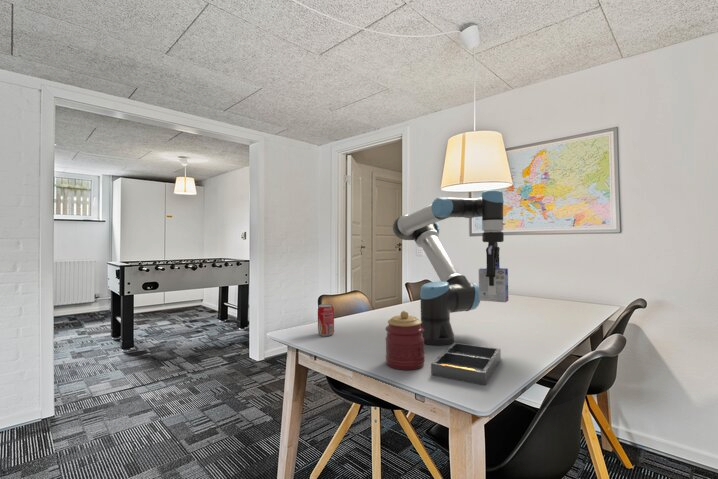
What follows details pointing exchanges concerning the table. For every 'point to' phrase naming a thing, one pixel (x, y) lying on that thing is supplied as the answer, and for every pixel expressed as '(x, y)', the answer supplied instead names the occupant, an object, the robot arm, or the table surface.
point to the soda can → (325, 320)
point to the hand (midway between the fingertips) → (493, 293)
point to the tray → (467, 363)
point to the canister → (405, 342)
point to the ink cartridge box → (501, 285)
